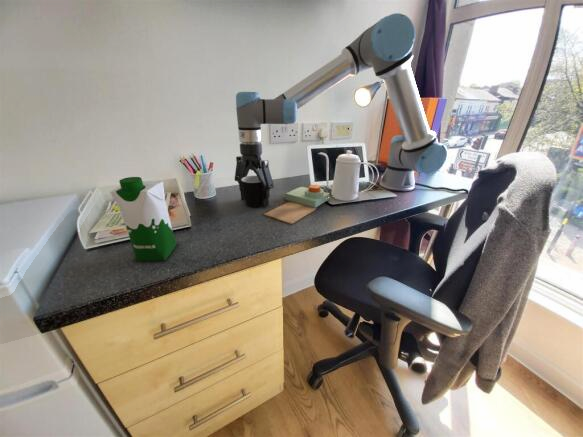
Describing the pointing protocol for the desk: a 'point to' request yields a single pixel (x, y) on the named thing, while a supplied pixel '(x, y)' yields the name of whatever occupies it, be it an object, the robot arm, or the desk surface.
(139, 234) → the milk carton
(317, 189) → the switch
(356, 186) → the coffeepot
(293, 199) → the push button box
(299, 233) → the desk surface
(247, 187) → the mug
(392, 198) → the desk surface
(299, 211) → the coaster
